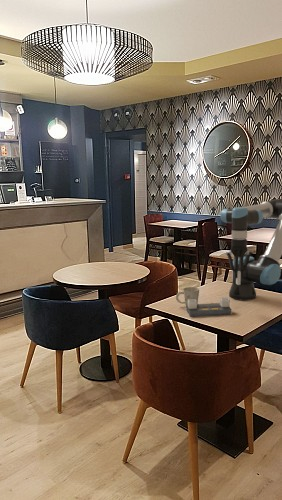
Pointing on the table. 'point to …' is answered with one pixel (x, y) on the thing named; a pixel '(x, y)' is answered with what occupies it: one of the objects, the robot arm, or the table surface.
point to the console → (209, 310)
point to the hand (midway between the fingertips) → (238, 284)
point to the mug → (189, 294)
